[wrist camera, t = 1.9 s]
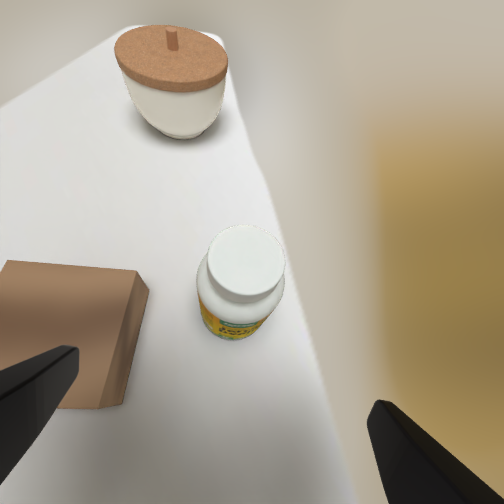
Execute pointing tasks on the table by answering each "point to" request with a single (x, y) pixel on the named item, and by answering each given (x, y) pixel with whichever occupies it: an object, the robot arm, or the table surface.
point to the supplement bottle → (240, 281)
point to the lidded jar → (173, 77)
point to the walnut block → (74, 323)
